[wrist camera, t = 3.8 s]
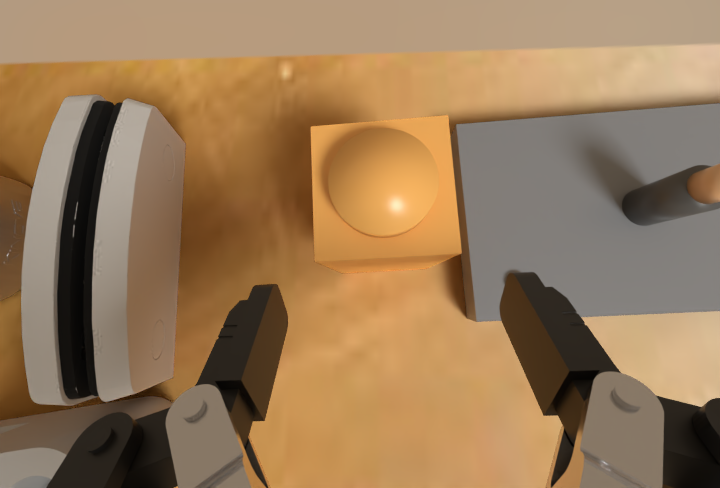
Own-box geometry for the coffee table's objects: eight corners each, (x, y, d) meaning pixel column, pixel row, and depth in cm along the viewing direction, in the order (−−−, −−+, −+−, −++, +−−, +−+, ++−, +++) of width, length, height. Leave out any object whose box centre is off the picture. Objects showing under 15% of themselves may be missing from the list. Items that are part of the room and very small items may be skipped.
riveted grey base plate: (466, 318, 20) (514, 334, 13) (449, 139, 21) (482, 67, 14) (809, 302, 18) (1068, 311, 11) (760, 115, 20) (959, 24, 13)
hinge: (120, 144, 23) (14, 39, 13) (191, 150, 24) (140, 58, 15) (99, 383, 20) (-49, 461, 11) (180, 375, 22) (110, 439, 12)
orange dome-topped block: (342, 273, 20) (309, 259, 11) (338, 192, 21) (305, 115, 12) (426, 268, 20) (468, 250, 11) (419, 187, 21) (452, 102, 11)
